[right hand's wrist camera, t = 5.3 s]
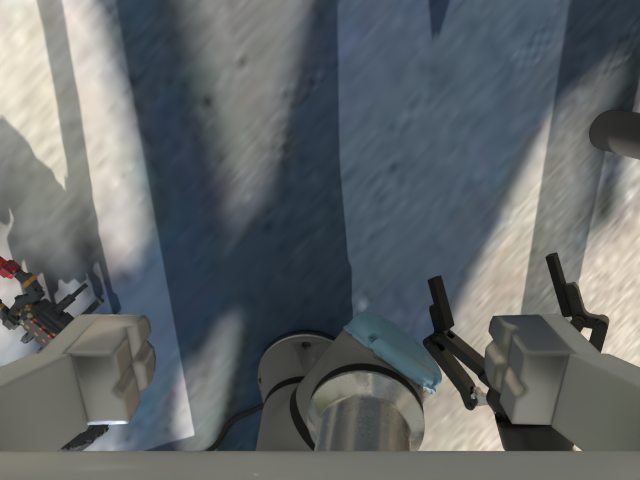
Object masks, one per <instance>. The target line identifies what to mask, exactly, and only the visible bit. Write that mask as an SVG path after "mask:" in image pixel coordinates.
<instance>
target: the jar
mask: <svg viewBox="0 0 640 480" xmlns="http://www.w3.org/2000/svg"><path fill="white" fill-rule="evenodd" d="M589 136H590V140H591V142H592V144H593V145H594V146H595V147H596V148H598V149H602V150H605V151H609V152H613V153H616V154H620V155H624V156H628V157H631V158H635V159H639V160H640V113H636V112H628V111H619V110H610V111H606V112H604V113H602V114H601V115H599V116H598V117H597V118H596V119H595V121H594V122H593V124H592V126H591V128H590V133H589Z"/></svg>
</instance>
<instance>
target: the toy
mask: <svg viewBox="0 0 640 480" xmlns="http://www.w3.org/2000/svg"><path fill="white" fill-rule="evenodd" d="M20 268H21V267H20V266H19V265H18V264H17V263H16V262H15V261H14V260H9V261H6V260H5V259H3V258H2V257H1V256H0V275H1V276H2V277H3V278H5V277H7V278H10V279H12V278H13V277H15V278H16V279H17V280H19V281H20V282H21V284H22V285H23V287H24V288H25V290H26V292H27V293H26V294H24V295H18V296H16V297H15V298H14V299H15V303H14V305H13V306H12V307H11V308H10V309H9V308H8V307H7V306H6V305H4V304H3V303H2V300H1V299H0V319H1V320H3V325H4V326H5V327H7V328H8V329H9V330H10V329H13V330H15V329H16V328H17V327H18V326H19V325H22V326H23V327H24V329H25V330H26V331H27V333H26V334H25V335H24V336H23V337H22V339H21V342H23V343H28V342H29V341H30V340H32V339H33V338H34V337H35V338H36V339H35V341H36V342H37V343H38V344H40V345H41V346H42V347H41V348H40V349H39V350H38V352H37V354H39V353H40V352H41V351H42V350H43V349H44V348H45V347H46V346H47V345H48V344H49V343H50V342H51V341H52V340H53V339H54V338H55V337H56V336H57V335H58V334H59V333H60V332H61V331H62V330H63V329H64V328H65V327H66V326H67V325H69V324H70V323H71V322H72V321H73V320H74V319H75V318H74V317H72V316H71V315H70V314H69V313H68V312H67V313H65V312H64V311H63V310H64V309H65V308H67V307H68V306H69V305H70V304H71V303H72V302H73V301H75V300H76V299H75V297H76V296H77V295H78V294H79V293H80V292H82V291H83V290H84V289H85V288H86V287H87V285H86V284H85V283H84V284H83V285H82V286H81V287H80V288H79V289H77V290H76V291H75V292H74V293H73V294H72V295H70V294H69V295H67V296H66V297H65V298H64V299H63V300H62V301H60V302H59V303H58V304H57V305H56V304H52V303H51V302H50V301H49V300H47V299H43V300H42V301H38V300H40V299H41V298H42V297H43V296H44V295H45V294H44V291H43V290H42V286H41V285H40V284H39V283H38V281H37V278H36V277H35V276H34V275H33V274H32V273H25V272H23V271H22V270H21V269H20ZM103 302H104V300H103V299H102V298H101V297H99V298H98V299H97V300H96V301H95V302H94V303H93V304H91V305H90V306H89V308H88V309H87V310H85V311H84V312H83V313H82V314H81V315H83V314H91V313H92V312H93V311H94V310H95V309H96V308H97V307H98V306H99V305H101V304H102V303H103ZM119 315H120V314H119ZM108 425H109V424H100V425H89V427H88V429H87V430H86V431H85V432H83V433H80V434H79V435H77V436H76V437H75V438H73V439H72V440H71V441H70V442H68V443H67V444H66V445H64V446H63V447H62V448H61V449H59V450H58V451H82V450H84V449H85V448H87V447H88V446H89V445H91V444H92V443H93V442H94V440H96V439H97V438H99V437H100V436H102V435H103V434H104V433H106V432H107V431H108V429H109V428H108Z"/></svg>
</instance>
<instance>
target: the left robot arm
mask: <svg viewBox="0 0 640 480" xmlns="http://www.w3.org/2000/svg"><path fill="white" fill-rule="evenodd" d="M546 261H547V264H548V268H549V271H550V274H551V278H552V281H553V285H554V288H555V292H556V295H557V299H558V302H559V306H560V309H561V313H562V316H563V317H570V316H572V320H571V322H570V323H571V324H572V325H573V326H574V327H575V328H576V329H577V330H578V331H579V332H581V331H582V329H583V327H586V328H591V329H592V333H591V337H590V340H589V342H590V343H591V344H592V345H593V346H594V347H595V348H596V349H597V350H598V351H599V352H600V353H601V350H602V347H603V343H604V340H605V336H606V333H607V329H608V325H609V318H608V317H607V316H605V315H596V314H591V313H589V312H587V311H586V309H585V307H584V304H583V300H582V297H581V293H580V290H579V287H578V285H577V284H576V283H575V282H572V283H566V281H565V278H564V274H563V271H562V268H561V264H560V261H559V257H558V254H557V253H552V254H549V255H548V256H546ZM428 284H429V287H430V291H431V295H432V299H433V302H434V304H433V305H431V306H430V308H429V312H430V315H431V319H432V323H433V327H434V333H433V334H431V335H429V336H428V337H427V338H425V339H424V340H423V345H424V346H425V348H426V349H427V350H428V352H429V353H430V354H431V356H432V357H433V358H434V359H435V361H436V362H437V363H438V365H439V366H440V367H441V369H442V370H443V371H444V373H445V374H446V375H447V377H448V378H449V379H450V380H451V382H452V383H453V384H454V386H455V387H456V388H457V390H458V391H459V392H460V395H461V397H462V400H463V402H464V405H465V407H466V408H467V409H468V410H473V409H474V408H475V407H476V406H482V405H489V406H490V407H491V408H492V410H493V412H494V414H495V419H496V424H497V427H498V431H499V435H500V438H501V442H502V446H503V448H504V450H505V451H576V449H575V448H574V447H573V446H574V444H573V443H572V442H571V441H569V440H568V439H567V438H566V437H564V436H563V435H562V434H560V433H559V432H558V431H557V430H555V429H554V428H553V427H551V426H552V425H540V424H512V423H511V421H510V419H509V418H508V416H507V414H506V412H505V410H504V409H503V407H502V405H501V403H500V397H501V393H499V392H498V391H496V390H495V389H493V388H492V387H491V385H490V383H489V381H488V379H487V375H486V372H485V363H484V357H482V356H481V355H480V354H479V353H478V352H476V351H475V350H474V349H473V348H472V347H470V346H469V345H468V344H467V343H466V342H464V341H463V340H462V339H461V338H460V337H458V336H457V335H456V334H455V333H454V332H452V331H451V330H450V328H451V327H453V326H454V321H453V318H452V314H451V310H450V306H449V303H448V299H447V295H446V292H445V288H444V284H443V281H442V277H441V276H436V277H434V278H431V279H429V280H428ZM428 352H427V351H426V350H425V349H424V348H423V347H422V346H421V345H420V344H419V343H418V342H417V341H416V340H415V339H413V338H412V337H411V336H410V335H409V334H407V333H406V332H405V331H404V330H402V329H401V328H400V327H398V326H397V325H395V324H394V323H392V322H391V321H389V320H387V319H385V318H384V317H382V316H380V315H377V314H374V313H371V312H362V313H359V314H358V315H356V316H355V317H354V318H353V319H352V320H351V321H350V322H349V323H348V324H347V325H345V326H344V327H343V330H342V331H341V333H340V334H339V335H338V336H337V338H336V339H335V338H333V337H331V336H329V335H327V334H325V333H322V332H317V331H311V330H301V331H294V332H290V333H287V334H284V335H282V336H280V337H278V338H277V339H275V340H274V341H272V342H271V343H270V344H269V345H268V346H267V348H266V349H265V350H264V352H263V354H262V356H261V358H260V362H259V366H258V372H257V377H258V385H259V389H260V392H261V396H262V400H263V403H262V404H260V405H258V406H256V407H254V408H252V409H250V410H248V411H245V412H243V413H240V414H238V415H236V416H234V417H233V418H232V419H231V420H230V421H229V422H228V423H227V424H226V425H225V427H224V429H223V430H222V432H221V434H220V436H219V438H218V439H217V441H216V442H215V443H214V444H213V445H212V446H211V447H210V448H209V449H207V450H206V451H214V450H215V449H216V448H217V447H218V445H219V444H220V443H221V441H222V439H223V438H224V436H225V434H226V432H227V430H228V429H229V427H230V426H231V425H232V424H233V423H234V422H235V421H237V420H238V419H240V418H243V417H245V416H248V415H250V414H252V413H254V412H257V411H258V410H260V409H262V408H263V412H262V417H261V423H260V428H259V434H258V440H257V445H256V451H418V449H419V447H420V445H421V443H422V440H423V436H424V428H425V422H424V413H423V403H424V401H425V399H426V398H427V397H428V396H429V395H430V394H431V393H432V394H434V393H435V392H436V389H437V387H438V386H439V384H440V383H441V380H442V374H441V371H440V369H439V367H438V365H437V364H436V362H435V361H434V359H433V358H432V357H431V356H430V355H429V353H428ZM453 355H454V356H455V357H457V358H458V359H459V360H460V361H461V362H462V363H464V364H465V365H466V366H467V367H468V368H469V369H471V370H472V371H473V372H474V373H475V374H476V375H477V376H478V378H479V380H480V381H482V382H483V383H484V384H485V385H486V386H487V387H489V390H488V392H487V394H485V393H483V392H482V391H481V388H480V387H476V386H475V384H474V382H473V380H472V379H471V377H470V376H469V375H468V374H467V372H466V371H465V370H464V368H463V367H462V366H461V365H460V363H459V362H458V361H457V360H456V358H455V357H454V356H453Z"/></svg>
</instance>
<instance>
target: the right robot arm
mask: <svg viewBox="0 0 640 480" xmlns="http://www.w3.org/2000/svg"><path fill="white" fill-rule="evenodd" d="M151 332H152V331H151V326H150V322H149V319H148V318H147V317H146V316H145V315H109V314H104V315H102V314H83V315H78V316H77V317H76V318H75V319H74V320H73V321H72V322H71V323H70V324H69V325H67V326H66V327H65V328H64V329H63V330H62V331H61V332H60V333H59V334H58V335H57V336H56V337H55V338H54V339H53V340H52V341H51V342H50V343H49V344H48V345H47V346H46V347H45V348H44V349H43V350H42V351H41V352H40V353H39V354H30V355H28V356H25V357H23V358H21V359H18V360H16V361H14V362H12V363H9V364H7V365H5V366H2V367H0V480H640V367H637V366H635V365H633V364H631V363H628V362H626V361H624V360H621V359H619V358H617V357H615V356H612V355H610V354H601V353H600V352H599V351H598V350H597V349H596V348H595V347H594V346H593V345H592V344H591V343H590V342H589V341H588V340H587V339H586V338H585V337H584V336H583V335H582V334H581V333H580V332H579V331H578V330H577V329H576V328H575V327H574V326H573V325H572V324H571V323H570V322H569V321H568V320H567V319H566V318H564V317H563V316H562V315H559V314H542V315H503V316H493V317H492V319H491V321H490V326H489V331H488V332H489V333H490V335H491V336H492V338H493V339H494V340H493V341H492V342H491V343H490V344H489V345H488V346H487V347H486V350H485V358H484V363H485V372H486V375H487V379H488V381H489V383H490V385H491V387H492V388H493V389H495V390H496V391H498V392H499V393H501V397H500V403H501V405H502V407H503V409H504V410H505V412H506V414H507V416H508V418H509V419H510V421H511V423H512V424H540V425H552V426H551V427H553V428H554V429H555V430H557V431H558V432H559V433H560V434H562V435H563V436H564V437H566V438H567V439H568V440H569V441H571V442H572V443H573V444H574V445H576V446H577V447H578V448H580V449H581V450H582V451H58V450H59V449H61V448H62V447H63V446H64V445H66V444H67V443H68V442H70V441H71V440H72V439H73V438H75V437H76V436H77V435H79V434H80V433H81V432H82V431H84V430H85V429H86V428H88V425H100V424H128V423H129V421H130V419H131V418H132V416H133V414H134V412H135V410H136V409H137V407H138V405H139V403H140V397H139V393H141V392H142V391H144V390H145V389H147V388H148V387H149V385H150V383H151V381H152V379H153V375H154V371H155V362H156V356H155V350H154V347H153V346H152V345H151V344H150V343H149V342H148V341H147V340H146V339H147V338H148V336H149V335H150V333H151Z"/></svg>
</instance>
